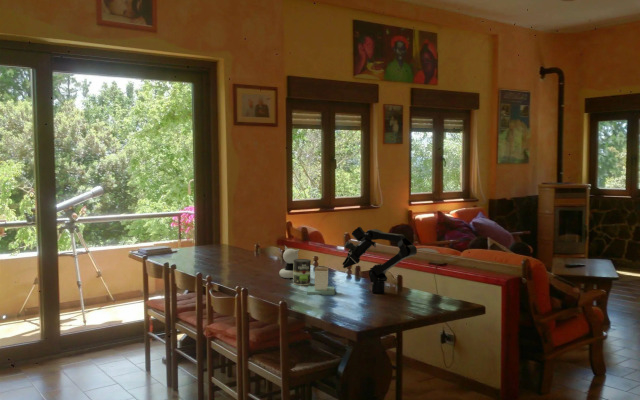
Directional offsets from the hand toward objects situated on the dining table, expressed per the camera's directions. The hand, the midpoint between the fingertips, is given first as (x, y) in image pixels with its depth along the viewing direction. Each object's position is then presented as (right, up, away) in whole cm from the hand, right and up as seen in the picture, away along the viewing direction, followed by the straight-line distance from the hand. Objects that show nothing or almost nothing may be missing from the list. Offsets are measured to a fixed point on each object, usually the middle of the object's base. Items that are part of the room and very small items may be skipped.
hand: (343, 266), depth 328 cm
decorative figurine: (-31, -11, +37) cm, 49 cm away
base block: (-13, -14, -4) cm, 19 cm away
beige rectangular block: (-12, -12, -4) cm, 18 cm away
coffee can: (-24, -12, +16) cm, 31 cm away
